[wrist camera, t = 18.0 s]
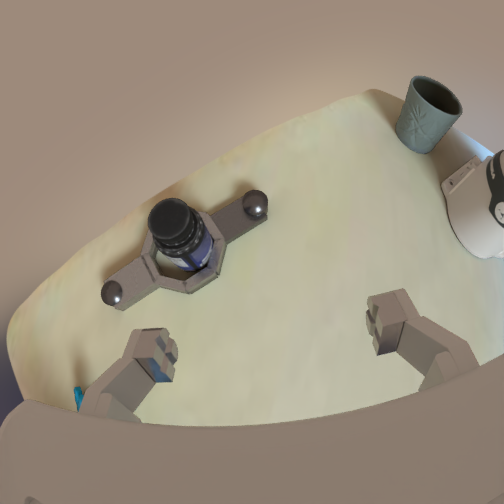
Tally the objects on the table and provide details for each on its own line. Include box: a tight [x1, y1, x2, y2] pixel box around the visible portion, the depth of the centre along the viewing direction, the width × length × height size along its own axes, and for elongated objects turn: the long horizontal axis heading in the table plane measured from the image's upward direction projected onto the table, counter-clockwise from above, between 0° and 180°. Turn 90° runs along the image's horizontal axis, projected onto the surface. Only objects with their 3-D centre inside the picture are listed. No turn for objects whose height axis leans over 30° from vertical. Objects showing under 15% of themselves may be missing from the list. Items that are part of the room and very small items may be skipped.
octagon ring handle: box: [101, 190, 268, 311], centre depth 37 cm, size 26×11×3 cm, turn 123°
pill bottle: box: [148, 198, 214, 272], centre depth 33 cm, size 6×6×11 cm
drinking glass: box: [396, 76, 462, 154], centre depth 38 cm, size 10×10×12 cm
